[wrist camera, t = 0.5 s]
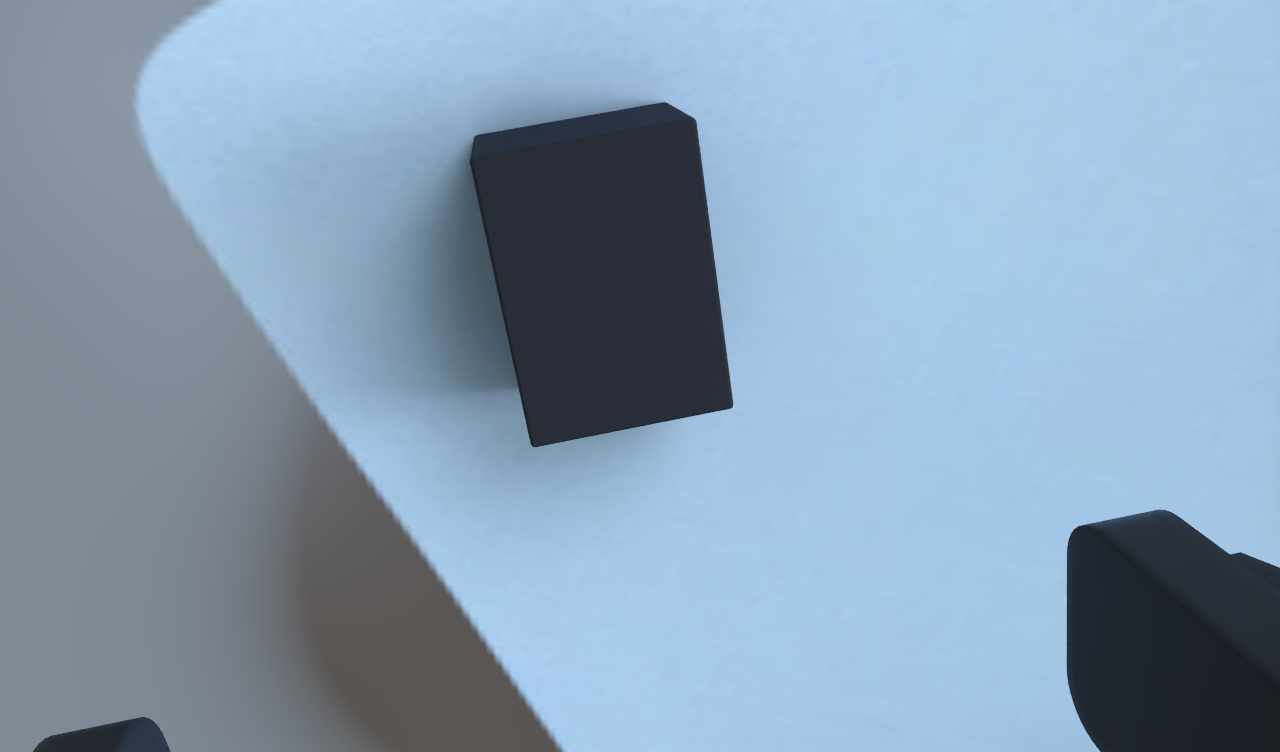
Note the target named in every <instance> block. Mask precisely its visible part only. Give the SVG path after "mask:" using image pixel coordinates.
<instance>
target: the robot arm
mask: <svg viewBox="0 0 1280 752" xmlns="http://www.w3.org/2000/svg"><path fill="white" fill-rule="evenodd" d="M1067 677H1068V684H1069V688H1070V693H1071V696H1072V699H1073V703H1074V705H1075V708H1076V711H1077V713H1078V716H1079V718H1080V720H1081V722H1082V724H1083V726H1084V728H1085V730H1086V732H1087V733H1088V735H1089V737H1090V738H1091V740H1092V741H1093V742H1094V744H1095V745H1096V746H1097V748H1098V749H1099V750H1100V751H1101V752H1280V568H1279V567H1276V566H1274V565H1271V564H1269V563H1266V562H1264V561H1261V560H1258V559H1256V558H1253V557H1251V556H1248V555H1246V554H1243V553H1241V552H1240V553H1236V554H1231V555H1230V554H1228V553H1227V552H1226V551H1224V550H1223V549H1222V548H1220V547H1219V546H1218V545H1216V544H1215V543H1214V542H1212V541H1211V540H1209V539H1208V538H1207V537H1205V536H1204V535H1203V534H1201V533H1200V532H1199V531H1197V530H1196V529H1194V528H1193V527H1192V526H1190V525H1189V524H1188V523H1186V522H1185V521H1184V520H1182V519H1181V518H1180V517H1178V516H1177V515H1175V514H1173V513H1172V512H1169V511H1166V510H1155V511H1150V512H1145V513H1140V514H1135V515H1131V516H1126V517H1121V518H1116V519H1111V520H1106V521H1102V522H1097V523H1092V524H1087V525H1082V526H1078V527H1077V528H1075V529H1074V530H1073V532H1072V533H1071V536H1070V538H1069V542H1068V547H1067ZM33 752H170V750H169V747H168V745H167V742H166V740H165V738H164V736H163V733H162V732H161V730H160V728H159V727H158V726H157V725H156V724H155V723H154V721H152V720H150V719H149V718H145V717H141V718H136V719H131V720H126V721H121V722H116V723H112V724H107V725H102V726H97V727H92V728H88V729H82V730H78V731H73V732H68V733H63V734H58V735H53V736H50V737H48V738H46V739H44V740H43V741H42V742H41V743H39V744H38V746H37V747H36V748H35V750H34V751H33Z"/></svg>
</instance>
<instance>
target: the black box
mask: <svg viewBox="0 0 1280 752" xmlns="http://www.w3.org/2000/svg"><path fill="white" fill-rule="evenodd" d="M470 164H471V169H472V174H473V178H474V183H475V188H476V192H477V197H478V202H479V206H480V211H481V215H482V220H483V225H484V229H485V234H486V239H487V243H488V248H489V252H490V257H491V262H492V266H493V271H494V276H495V280H496V285H497V290H498V294H499V299H500V303H501V308H502V313H503V317H504V322H505V327H506V331H507V336H508V341H509V345H510V350H511V354H512V359H513V364H514V368H515V373H516V378H517V382H518V387H519V392H520V396H521V401H522V405H523V410H524V415H525V419H526V424H527V429H528V433H529V438H530V442H531V445H532V446H533V447H538V446H544V445H549V444H554V443H559V442H564V441H569V440H574V439H579V438H584V437H589V436H594V435H599V434H604V433H609V432H614V431H619V430H624V429H629V428H635V427H640V426H645V425H650V424H655V423H660V422H665V421H670V420H675V419H680V418H685V417H690V416H695V415H700V414H705V413H710V412H715V411H720V410H726V409H730V408H732V407H733V399H732V391H731V383H730V376H729V368H728V360H727V353H726V345H725V337H724V330H723V322H722V315H721V307H720V299H719V292H718V284H717V276H716V269H715V261H714V253H713V246H712V238H711V230H710V223H709V215H708V207H707V200H706V192H705V184H704V177H703V169H702V162H701V154H700V146H699V139H698V131H697V123H696V120H695V119H694V118H692V117H691V116H689V115H687V114H685V113H684V112H682V111H680V110H678V109H677V108H675V107H673V106H672V105H670V104H668V103H665V102H663V103H658V104H652V105H646V106H640V107H635V108H629V109H623V110H618V111H612V112H606V113H601V114H595V115H589V116H583V117H578V118H572V119H566V120H561V121H555V122H549V123H543V124H538V125H532V126H526V127H521V128H515V129H509V130H503V131H498V132H492V133H486V134H481V135H476V136H475V137H474V142H473V148H472V153H471V159H470Z"/></svg>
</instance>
